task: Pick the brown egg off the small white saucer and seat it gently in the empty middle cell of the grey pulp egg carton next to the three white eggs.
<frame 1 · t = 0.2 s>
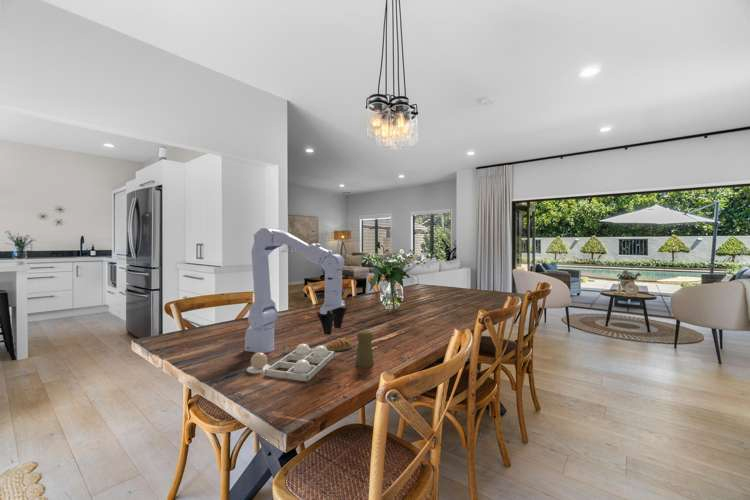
hand: (332, 331, 107), 10 cm above the table, tool pointing down, fingers open, 7 cm apart
pastry: (340, 349, 119), on the table
egg carton: (302, 367, 101), on the table
saucer: (259, 370, 98), on the table
white egg 2: (320, 360, 107), resting on egg carton
white egg 1: (302, 376, 94), resting on egg carton
olive green pepper mill: (364, 365, 105), on the table
white egg 3: (302, 358, 108), resting on egg carton
brown egg: (259, 368, 98), point 1 cm above the table, touching saucer
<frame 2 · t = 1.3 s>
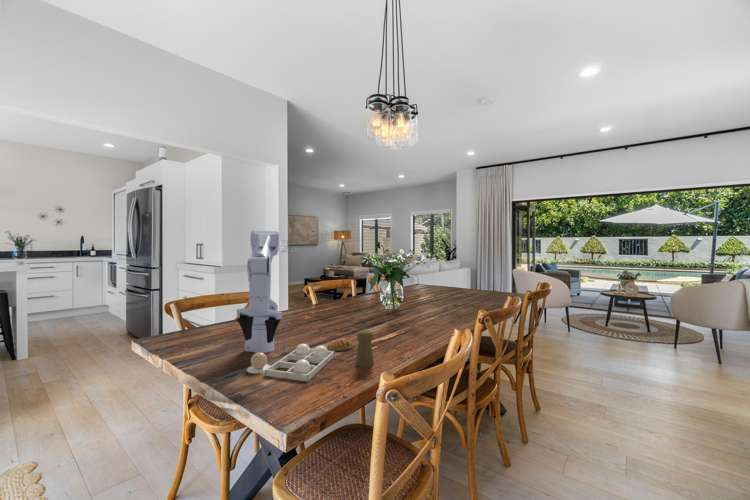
hand: (259, 340, 98), 9 cm above the table, tool pointing down, fingers open, 7 cm apart
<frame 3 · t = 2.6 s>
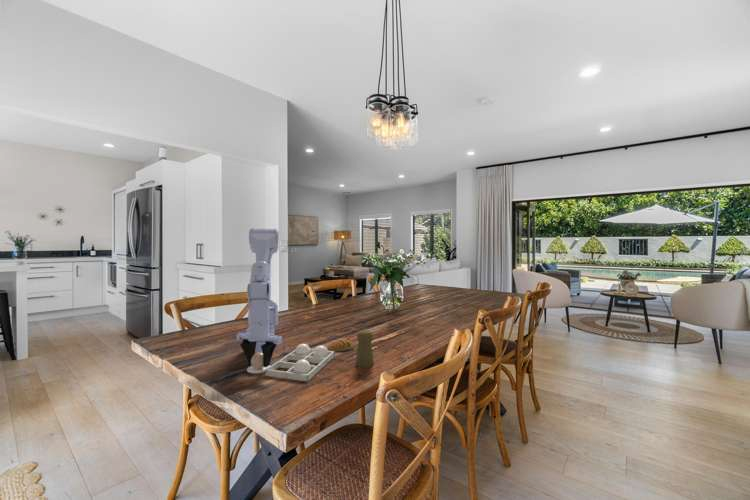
hand: (259, 365, 98), 2 cm above the table, tool pointing down, fingers closed on brown egg, 5 cm apart
brown egg: (259, 368, 98), point 1 cm above the table, touching gripper, saucer
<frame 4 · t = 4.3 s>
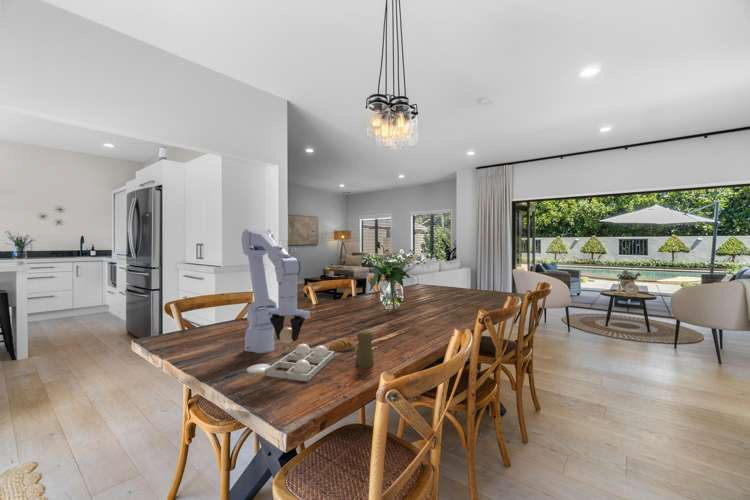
hand: (287, 339, 101), 9 cm above the table, tool pointing down, fingers closed on brown egg, 5 cm apart
brown egg: (287, 342, 101), point 8 cm above the table, touching gripper
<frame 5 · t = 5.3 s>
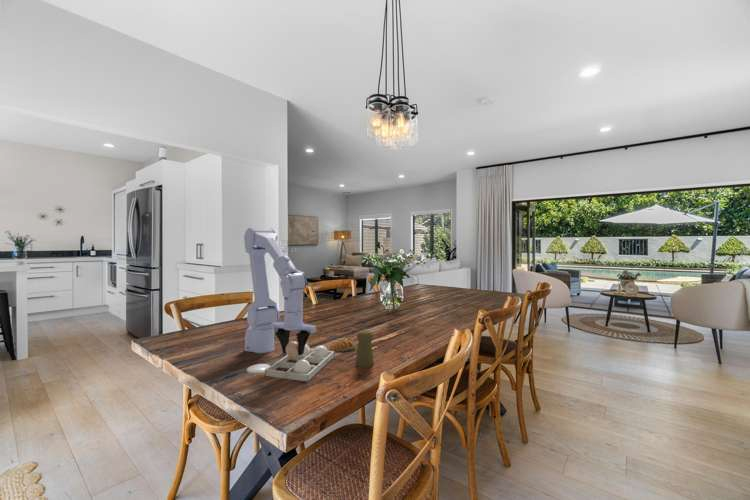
hand: (293, 353, 102), 4 cm above the table, tool pointing down, fingers closed on brown egg, 5 cm apart
brown egg: (293, 356, 102), point 3 cm above the table, touching gripper
when the fingers open (3 cm above the table, at t = 6.0 s): brown egg drops 2 cm, resting on egg carton.
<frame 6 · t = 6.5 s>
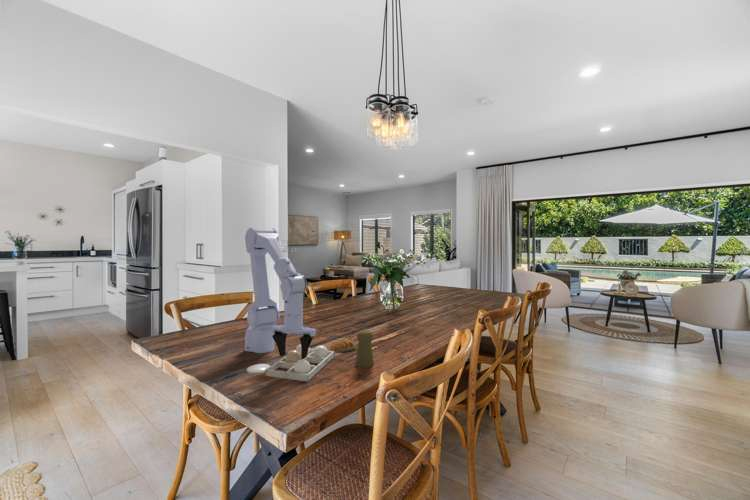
hand: (293, 356, 102), 3 cm above the table, tool pointing down, fingers open, 7 cm apart
brown egg: (293, 365, 102), resting on egg carton
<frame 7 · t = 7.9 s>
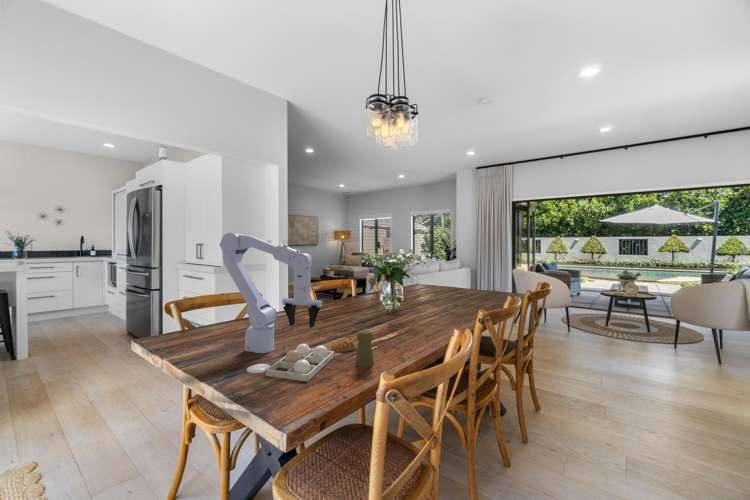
hand: (301, 326, 113), 10 cm above the table, tool pointing down, fingers open, 7 cm apart
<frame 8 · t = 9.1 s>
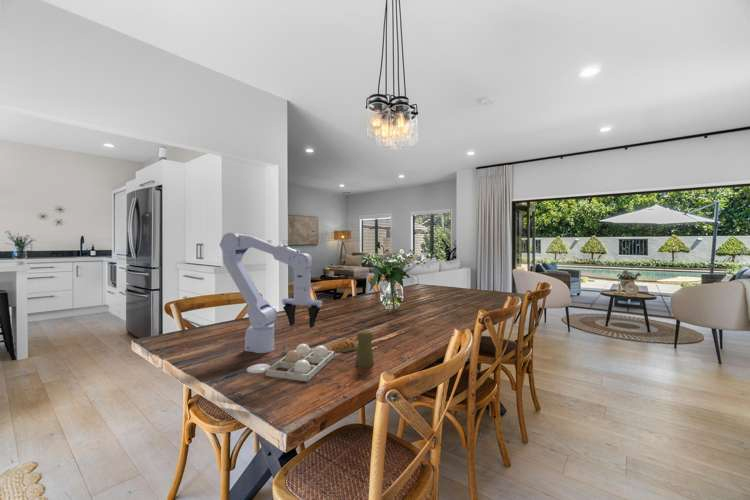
hand: (301, 326, 113), 10 cm above the table, tool pointing down, fingers open, 7 cm apart
at the end: brown egg 0.1 cm from the target spot on the egg carton, point 0.4 cm above the egg carton's base; the gripper is holding nothing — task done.
